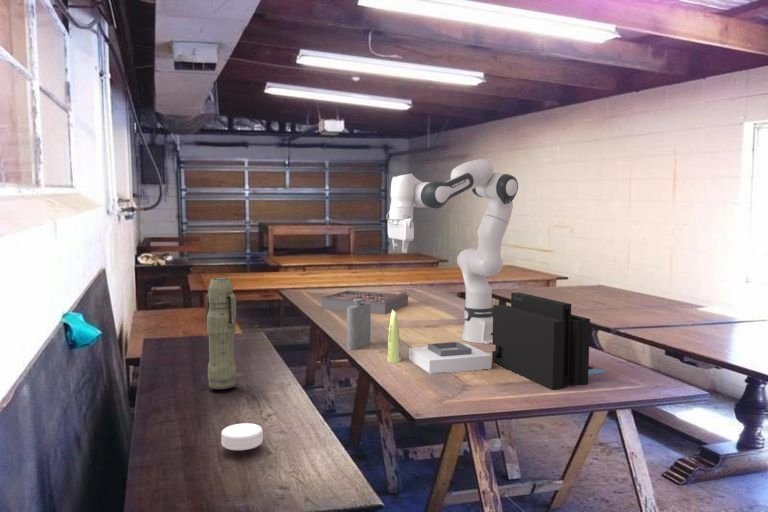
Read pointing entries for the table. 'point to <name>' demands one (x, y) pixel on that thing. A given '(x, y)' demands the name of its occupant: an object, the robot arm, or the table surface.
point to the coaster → (242, 436)
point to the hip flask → (358, 325)
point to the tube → (393, 340)
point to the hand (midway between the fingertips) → (400, 251)
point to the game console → (542, 341)
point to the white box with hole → (450, 358)
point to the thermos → (221, 333)
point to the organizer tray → (365, 301)
